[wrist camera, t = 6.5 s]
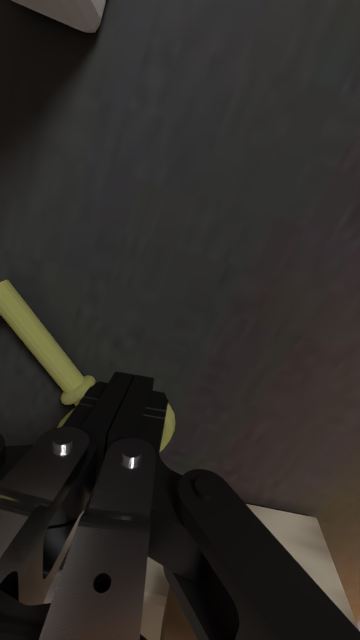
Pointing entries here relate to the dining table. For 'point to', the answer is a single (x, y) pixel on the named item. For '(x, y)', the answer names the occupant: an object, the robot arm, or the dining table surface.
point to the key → (54, 354)
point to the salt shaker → (70, 12)
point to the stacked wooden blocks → (297, 539)
